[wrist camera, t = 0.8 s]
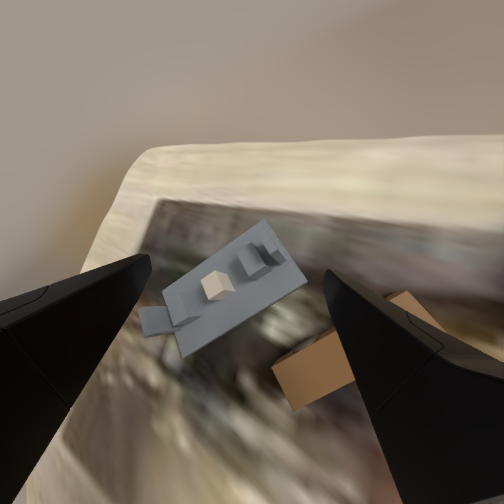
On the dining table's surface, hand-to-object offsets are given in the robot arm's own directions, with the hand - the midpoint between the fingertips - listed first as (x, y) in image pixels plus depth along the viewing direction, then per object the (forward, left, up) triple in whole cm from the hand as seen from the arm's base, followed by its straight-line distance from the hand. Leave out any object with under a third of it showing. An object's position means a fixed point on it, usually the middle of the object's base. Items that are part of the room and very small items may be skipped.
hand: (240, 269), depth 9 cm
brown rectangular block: (-7, -2, -13) cm, 15 cm away
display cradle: (+4, +6, -12) cm, 14 cm away
